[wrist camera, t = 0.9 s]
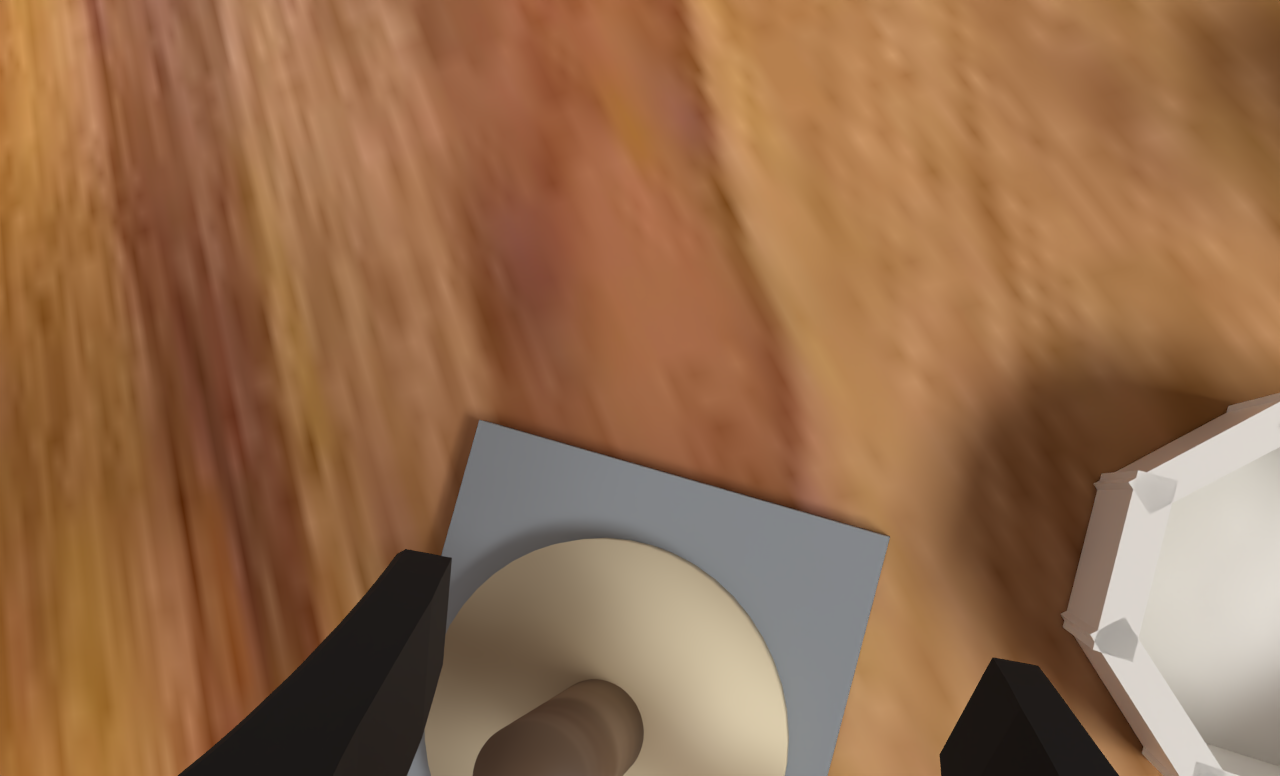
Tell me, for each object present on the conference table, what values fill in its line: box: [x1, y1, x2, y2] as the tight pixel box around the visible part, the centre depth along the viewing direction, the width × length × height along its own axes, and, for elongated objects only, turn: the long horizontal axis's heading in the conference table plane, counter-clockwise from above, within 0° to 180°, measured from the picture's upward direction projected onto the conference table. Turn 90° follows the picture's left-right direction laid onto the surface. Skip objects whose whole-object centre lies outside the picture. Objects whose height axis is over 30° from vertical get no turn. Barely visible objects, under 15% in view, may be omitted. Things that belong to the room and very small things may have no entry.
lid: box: [425, 538, 789, 776], centre depth 23 cm, size 10×10×6 cm
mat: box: [407, 420, 890, 776], centre depth 26 cm, size 14×12×1 cm
